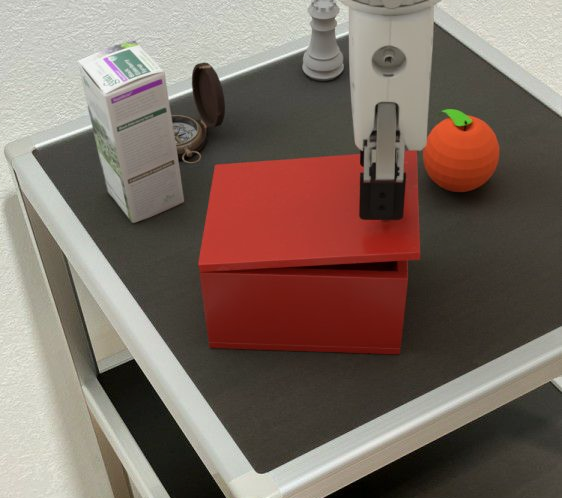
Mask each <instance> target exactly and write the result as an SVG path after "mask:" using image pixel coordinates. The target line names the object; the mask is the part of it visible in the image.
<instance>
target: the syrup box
mask: <svg viewBox="0 0 562 498" xmlns="http://www.w3.org/2000/svg"><path fill="white" fill-rule="evenodd" d="M77 66H78V70H79V74H80V79H81V85H82V88H83V92H84V96H85V97H84V98H85V101H86V105H87V109H88V110H87V111H88V115H89V118H90V123H91V127H92V131H93V136H94V141H95V144H96V145H95V146H96V150H97V153H98V158H99V163H100V165H101V170H102V174H103V179H104V183H105V187H106V192H107V193H108V195H109V196H110V197H111V198H112V200H113V201H114V202H115V204H116V205H117V206H118V207H119V208H120V210H121V211H122V212H123V213H124V215H125V216H126V218H127V219H128V220H129V221H130V223H132V224H136V223H138V222H141V221H144V220H147V219H149V218H152V217H154V216H157V215H158V214H161V213H163V212H165V211H167V210H170V209H172V208H175V207H177V206H179V205H181V204H183V203H185V196H184V191H183V184H182V183H183V182H182V176H181V169H180V163H179V159H178V155H177V149H176V142H175V136H174V130H173V123H172V117H171V116H172V112H171V105H170V98H169V93H168V86H167V80H166V73H165V71H164V69H162V67H160V65H159V64H158V63H157V62H156V61H155V60H154V59H153V58H152V57H151V56H150V55H149V54H148V53H147V51H146V50H144V48H142V46H141V45H140V44H139V43H138V42H137V41H136V40H130V41H126V42H122V43H119V44H115V45H112V46H109V47H107V48H104V49H102V50H99V51H97V52H95V53H92V54H90V55H88V56H86V57H84V58H81V59H78V60H77Z"/></svg>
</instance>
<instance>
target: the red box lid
mask: <svg viewBox="0 0 562 498" xmlns="http://www.w3.org/2000/svg"><path fill="white" fill-rule="evenodd" d="M373 135H377V132H376V133H374V134H373ZM372 162H376V150H372V161H371V164H372ZM418 172H419V171H418V151H417V150H412V151H409V150H405V151H404V172H403V173H406V185H405V199H404V213H403V218H402V219H400V220H363V219H361V218H360V217H359V201H360V173H364V167H362V166H361V165H360V153H356V154H355V153H354V154H343V155H329V156H315V157H302V158H301V157H300V158H289V159H275V160H274V159H273V160H261V161H247V162H246V161H245V162H234V163H233V162H232V163H220V164H219V163H218V164H215V165H214V169H213V173H212V174H213V175H212V180H211V185H210V186H211V187H210V193H209V197H208V205H207V209H206V216H205V221H204V228H203V234H202V240H201V245H200V251H199V258H198V264H197V266H198V269H199V273H200V272H210V271H228V270H245V269H263V268H281V267H299V266H316V265H334V264H352V263H370V262H388V261H405V260H408V261H420V260H421V235H420V234H421V233H420V232H421V231H420V203H419V202H420V201H419V174H418Z"/></svg>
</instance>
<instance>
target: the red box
mask: <svg viewBox="0 0 562 498" xmlns="http://www.w3.org/2000/svg"><path fill="white" fill-rule="evenodd" d="M199 279H200V284H201V285H200V286H201V293H202V295H201V296H202V302H203V310H204V317H205V326H206V332H207V340H208V347H209V349H224V350H225V349H228V350H251V351H252V350H254V351H255V350H257V351H286V352H287V351H288V352H313V353H338V354H339V353H341V354H343V353H344V354H368V353H370V355H371V354H373V355H397V354H399V355H400V354H401V347H402V338H403V329H404V322H405V321H404V320H405V310H406V304H407V303H406V301H407V293H408V286H409V285H408V284H409V260H405V261H388V262H370V263H352V264H334V265H316V266H299V267H281V268H263V269H245V270H228V271H210V272H200V271H199Z"/></svg>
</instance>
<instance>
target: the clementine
mask: <svg viewBox="0 0 562 498" xmlns="http://www.w3.org/2000/svg"><path fill="white" fill-rule="evenodd" d="M442 113H444V114H446V115H447V116H448V117H446V118H445V119H443V120H441V121H440V122H439V123H438V124H436V125H435V126H433V128H432V130H431V131H430V132H429V134H428V135H427V145H426V146H425V147H424V148H423V149H422V161H423V166H424V169H425V171H426V173H427V175H428V176H429V178H430V179H431V180H432V182H434V183H435V184H436V185H437V186H438V187H440V188H441V189H444V190H446V191H449V192H453V193H466V192H471V191H473V190H476V189H477V188H479V187H481V186H483V185H484V184H485V183H486V182H488V181H489V180H490V178H491V177H492V176H493V174H494V173H495V172H496V170H497V166H498V163H499V161H500V159H499V158H500V145H499V141H498V139H497V135H496V133H495V132H494V129H492V128H491V127H490V125H489V124H488V123H486V121H484V120H482V119H480V118H478V117H475V116H473V115H467V114H465V113H464V112H463V111H461V110H457V109H453V108H445V109H443V110H441V111H439V112H438V114H437V117H436V119H439V116H440V115H441V114H442Z"/></svg>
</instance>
